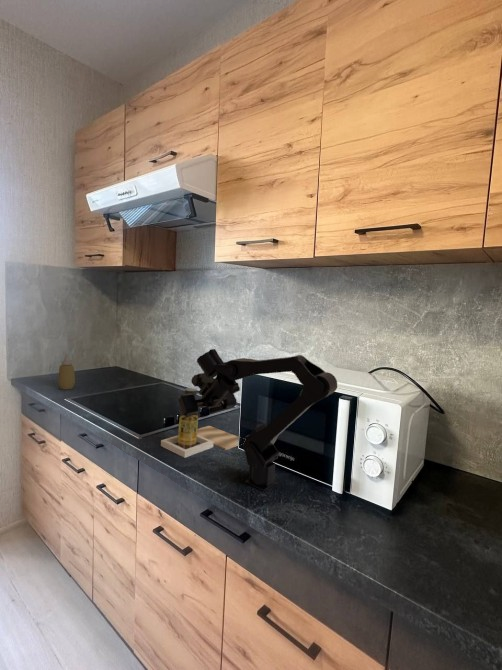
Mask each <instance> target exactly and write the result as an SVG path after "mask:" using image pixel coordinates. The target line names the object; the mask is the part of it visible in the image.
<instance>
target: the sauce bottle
mask: <svg viewBox="0 0 502 670" xmlns="http://www.w3.org/2000/svg"><path fill="white" fill-rule="evenodd" d="M190 393H192V394H193V395H194V397H195V400H197V394H198V389H197V388H194V387H193V388H192V387H188V388H184V394H190ZM179 411H180V412H179V413H180V414H179V419H178V421H179V422H178V430H177V431H178V433H177V435H178V442H177V446H179V447H181V448H183V449H185V450H186V449H188V448H191V447H194V446H197V444H196V443H197V442H196V438H197V429H198V425H199V424H198V423H199V411H198V412H197V413H196V415H194V416H191V417H188V418H185V416H184V415H183V412H182V409H181V408H180V410H179Z"/></svg>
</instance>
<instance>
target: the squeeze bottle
mask: <svg viewBox="0 0 502 670" xmlns="http://www.w3.org/2000/svg"><path fill="white" fill-rule="evenodd" d="M57 377H58V378H57V384H58V386H59V389H60V390H72V389H73V388H74V385H75V383H76V378H75V377H76V375H75V368H74V364H73V362H72V360H70V357H69V353H65V355H64V359H63V360H61V365H60V366H59V369H58V376H57Z"/></svg>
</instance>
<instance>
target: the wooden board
mask: <svg viewBox="0 0 502 670" xmlns="http://www.w3.org/2000/svg"><path fill="white" fill-rule="evenodd" d="M197 435H199V436H202V437H204V438H206V439H209V440H211V441H213V447H214V446H215V447H217V448H219V449H221V450H224V451H227V450H230V449H232V448H235V447H237V446H239V445H238V439H239V437H240V436H237V435H235V434H232V433H229V432H227V431H224V430H222V429H218V428H217V427H214V426H211V425H207V426H203V427H200V428H197Z"/></svg>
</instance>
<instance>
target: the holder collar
mask: <svg viewBox="0 0 502 670" xmlns="http://www.w3.org/2000/svg"><path fill="white" fill-rule="evenodd" d="M196 443H198V444H196V445H195V446H194V447H191V448H188V449H183V448H181V447H179V446H178V434H177V435H175V436H171V437H167V438H165V439H161V440H160V447H162V448H163V449H166V450H168V451H170V452H173V453H174V454H176V455H178V456H180V457H182V458H184V459H186V458H188V457H190V456H194V455H196V454H198V453H202V452H205V451H206V450H209V449H212V448H214V445H213V441H211V440H209V439H206V438H204V437H202V436H199V435H197V438H196Z"/></svg>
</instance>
